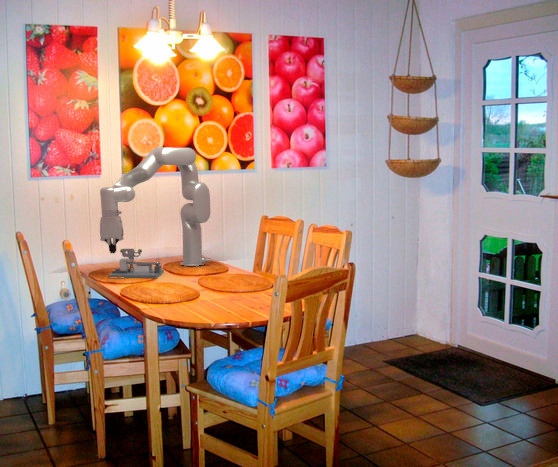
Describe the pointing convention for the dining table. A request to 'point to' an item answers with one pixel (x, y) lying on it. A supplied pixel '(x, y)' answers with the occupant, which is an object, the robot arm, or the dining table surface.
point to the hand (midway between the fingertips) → (113, 252)
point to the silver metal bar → (145, 263)
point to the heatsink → (142, 269)
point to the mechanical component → (130, 254)
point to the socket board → (130, 274)
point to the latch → (124, 264)
